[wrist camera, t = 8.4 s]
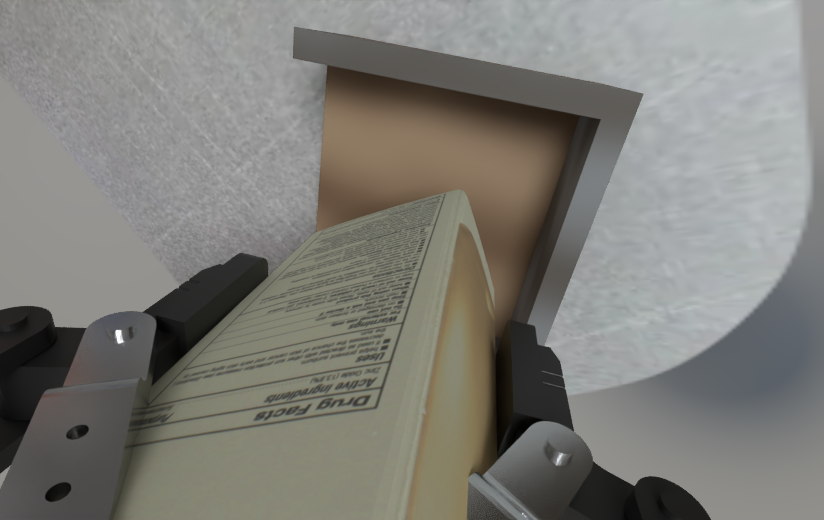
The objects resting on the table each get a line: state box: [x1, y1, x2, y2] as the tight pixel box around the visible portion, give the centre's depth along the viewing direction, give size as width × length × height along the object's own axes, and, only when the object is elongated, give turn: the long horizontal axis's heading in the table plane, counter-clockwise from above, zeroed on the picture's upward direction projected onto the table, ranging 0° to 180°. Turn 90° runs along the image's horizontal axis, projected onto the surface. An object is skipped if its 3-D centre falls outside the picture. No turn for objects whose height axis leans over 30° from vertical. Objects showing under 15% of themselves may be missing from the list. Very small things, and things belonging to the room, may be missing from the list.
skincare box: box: [113, 190, 497, 520], centre depth 11 cm, size 6×4×12 cm
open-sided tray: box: [293, 27, 643, 356], centre depth 20 cm, size 14×12×6 cm
